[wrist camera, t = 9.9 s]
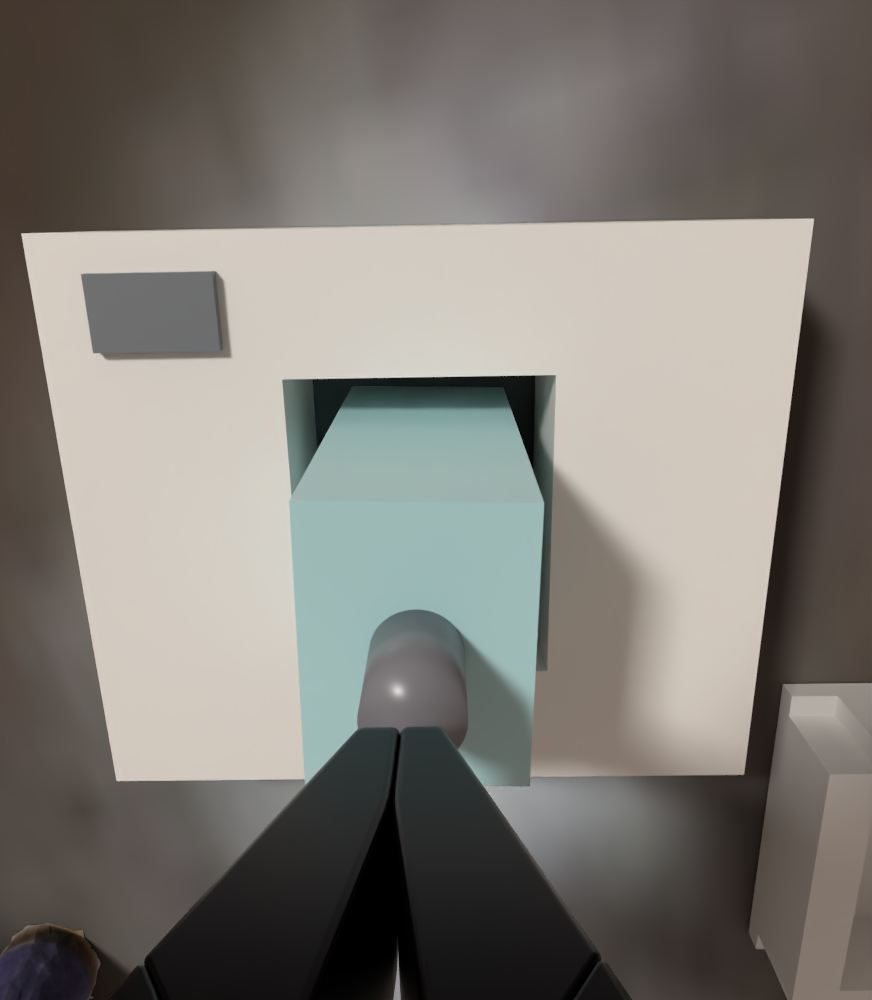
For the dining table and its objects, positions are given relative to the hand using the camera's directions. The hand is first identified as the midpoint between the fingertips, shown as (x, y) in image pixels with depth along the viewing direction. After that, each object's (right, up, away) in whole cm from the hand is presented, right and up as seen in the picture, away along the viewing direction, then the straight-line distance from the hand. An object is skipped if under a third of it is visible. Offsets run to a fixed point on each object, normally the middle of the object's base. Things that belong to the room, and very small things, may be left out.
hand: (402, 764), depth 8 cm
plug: (0, +3, +9) cm, 9 cm away
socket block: (0, +3, +9) cm, 9 cm away
